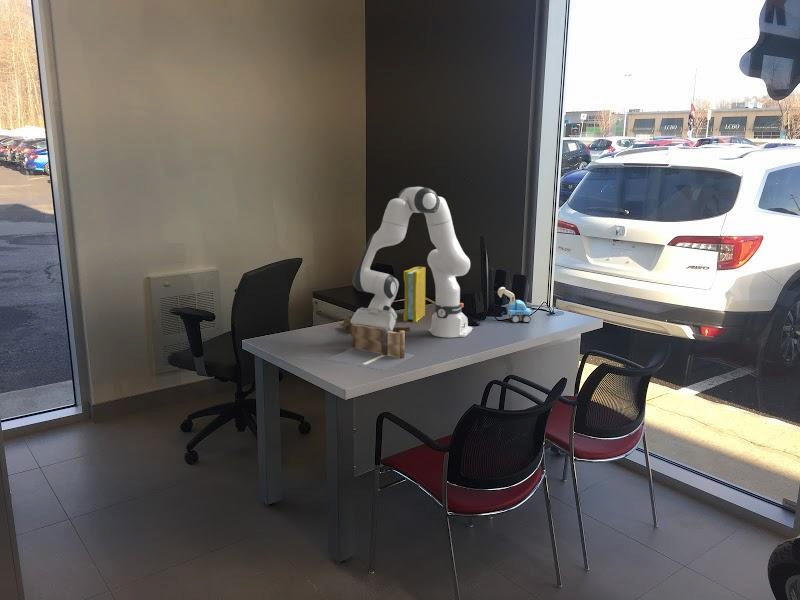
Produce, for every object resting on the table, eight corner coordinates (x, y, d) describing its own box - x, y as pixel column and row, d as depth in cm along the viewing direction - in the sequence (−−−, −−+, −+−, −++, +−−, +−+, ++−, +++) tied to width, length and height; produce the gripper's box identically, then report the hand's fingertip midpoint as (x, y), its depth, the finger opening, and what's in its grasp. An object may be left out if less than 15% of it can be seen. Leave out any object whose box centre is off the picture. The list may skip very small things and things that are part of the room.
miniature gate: (413, 326, 305) (351, 326, 294) (412, 337, 306) (350, 338, 295) (393, 313, 330) (335, 313, 319) (392, 324, 331) (334, 325, 320)
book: (416, 322, 326) (416, 272, 321) (403, 320, 329) (403, 271, 323) (427, 314, 342) (427, 267, 336) (415, 313, 344) (415, 266, 339)
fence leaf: (383, 352, 272) (383, 327, 269) (380, 353, 270) (380, 328, 268) (353, 346, 279) (353, 322, 277) (350, 348, 278) (350, 323, 275)
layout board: (359, 346, 284) (359, 344, 284) (415, 356, 270) (415, 354, 270) (325, 360, 264) (325, 358, 264) (384, 371, 250) (384, 370, 250)
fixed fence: (381, 354, 270) (381, 328, 268) (384, 353, 272) (384, 327, 270) (402, 358, 265) (402, 332, 262) (405, 357, 267) (405, 330, 264)
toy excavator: (495, 318, 334) (497, 285, 330) (529, 319, 333) (530, 285, 330) (497, 323, 325) (499, 288, 322) (531, 323, 325) (533, 289, 321)
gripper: (355, 303, 289) (342, 329, 283) (395, 308, 279) (383, 336, 273) (361, 311, 294) (348, 337, 288) (400, 316, 284) (388, 344, 277)
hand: (365, 336), depth 280 cm, fingers closed
